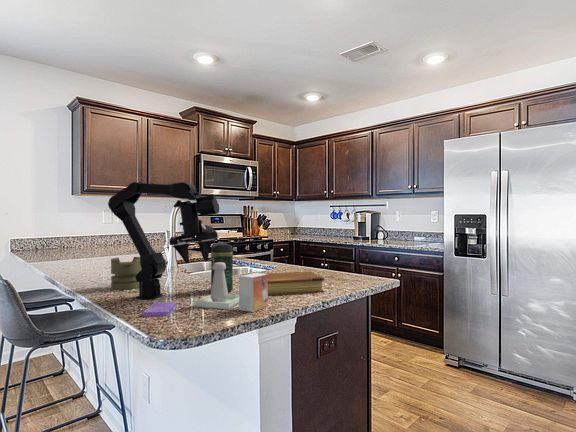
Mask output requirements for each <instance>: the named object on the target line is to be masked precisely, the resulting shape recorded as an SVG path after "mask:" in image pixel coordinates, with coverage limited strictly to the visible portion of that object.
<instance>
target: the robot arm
mask: <svg viewBox="0 0 576 432" xmlns="http://www.w3.org/2000/svg"><path fill="white" fill-rule="evenodd" d="M142 194H148V195H163V196H170V197H173V198H176V199H179V200H176V202H175V203H174V205H173V208H179V210H180V217H181V222H179V226H182V231H183V233H182V234H181V235H177V236H171V237H170V238H169V239H168V241H169V246H172V248H174V249H175V250H176V251H177V252H178V254H179V256H181V258H182V260H183V261H184V263H185V264H189V263H190V256H189V255H190V252H189V247H190V245H191V243H190V242H192V241H197V240H198V242H197V245H198V247H199V250H200V253H201V256H202V259H203V261H204V262H208V260H209V256H210V252H211V246H212V245H213V243H214V242H215V241H216V239H218V238H219V236H218V235H219V234H218V232H217V230H215V229H213V228H214V227H213V226H210V225H208V224H204V223H203V221H202V219H200V218H199V215H200V216H201V217H206V216H213V215H218V214H219V213H220V204H219V201H218V200H217V198H216V195H215V194H209V195H205V196H202V195H201V194H200V193H199V192H198V191H197V188H196V186H195V185H194V184H192V183H188V182H183V181H181V182H174V183H169V184H160V183H145V182H138V181H137V182H136V181H133V182H131V183H130V184H129V185H127V187H125V188H123V189H121V190H120V191H118V192H117V193H116V194H115V195H112V196H111V197H110V198H109V199H108V202H107V206H108V208H109V210H110V211H111V212H112V214H113V215H114V216H115V217H117V219H119V220H120V221H121V222H122V224H123V226H124V228H125V230H126V232H127V233H128V235H129V237H130V239H131V241H132V243H133V245H134V246H135V249H136V250H137V252H138V255H139V257H140V265H141V268H142V270H141V271H140V272H139V273H138V274H137V275H136V276H135V277H136V280H137V282H139V289H138V293H139V294H138V296H136V299H141V300H153V299H156V298H159V297H161V296H163V293H161V282H160V279H161V278H162V277H163V274H164V273H165V271H166V269H167V260H166V259H165V258H164V255H163V253H162V251H158V252H156V251H155V250H154V249H153V247H152V245H151V243H150V242H149V240H148V238H147V235H146V234H145V232H144V229H143V228H142V226H141V224H140V222H139V220H138V219H137V217H136V207H135V204H136V203H137V202H138V201H139V200H140V199H139V198H140V197H141V195H142ZM182 200H186V201H182ZM191 201H195V202H191Z"/></svg>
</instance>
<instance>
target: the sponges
mask: <svg viewBox="0 0 576 432" xmlns="http://www.w3.org/2000/svg"><path fill="white" fill-rule="evenodd" d="M175 307H177V301H164V302H163V301H162V302H153V304H151V305H150V306H149V307H147V308H146V309H145V310H143V312H142V317H165V316H166V317H167V316H168V315H170V313H171V312H172V311H173V310H174V309H175Z"/></svg>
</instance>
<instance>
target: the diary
mask: <svg viewBox="0 0 576 432" xmlns="http://www.w3.org/2000/svg"><path fill="white" fill-rule="evenodd" d="M262 274H268V296H278V295H280V294H282V295H297V294H298V295H299V294H313V293H325V290H324V289H323V282H324V281H325V277H322V276H320V275H318V274H317V273H314V272H313V271H309V270H308V271H290V272H288V271H287V272H271V273H270V272H268V273H262Z"/></svg>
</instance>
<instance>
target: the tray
mask: <svg viewBox="0 0 576 432" xmlns="http://www.w3.org/2000/svg"><path fill="white" fill-rule="evenodd" d="M210 295H211V294H208V295H205V296H204V297H202V298H199V299H198V300H195V308H207V309H221V310H230V309H232V308H234V307H235V306H237V305H239V294H229V293H228V298H227V300H226V302H213V301H212V299H211V296H210Z"/></svg>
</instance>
